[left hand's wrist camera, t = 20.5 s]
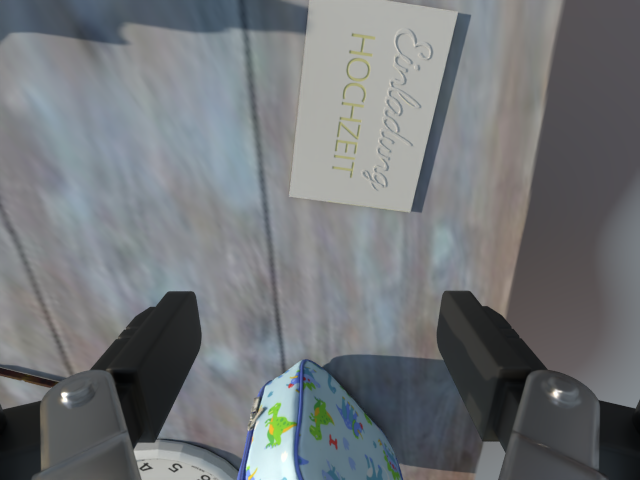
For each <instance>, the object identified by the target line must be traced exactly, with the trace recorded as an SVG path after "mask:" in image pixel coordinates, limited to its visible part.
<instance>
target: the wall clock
mask: <svg viewBox="0 0 640 480" xmlns="http://www.w3.org/2000/svg"><path fill="white" fill-rule="evenodd" d="M134 454H135V457H136V461H137V465H138V468H139V472H140V475H141V479H142V480H237V477H238V473H239V471H238V470H237V469H235V468H234V467H233V466H232V465H231V464H230V463H229V462H227V461H226V460H225V459H223V458H221V457H219V456H217V455H215V454H214V453H212V452H210V451H208V450H206V449H203V448H200V447H196V446H193V445H190V444H187V443H183V442H175V441H168V440H156V441H155V443H137V445H136V447H135V449H134Z"/></svg>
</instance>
